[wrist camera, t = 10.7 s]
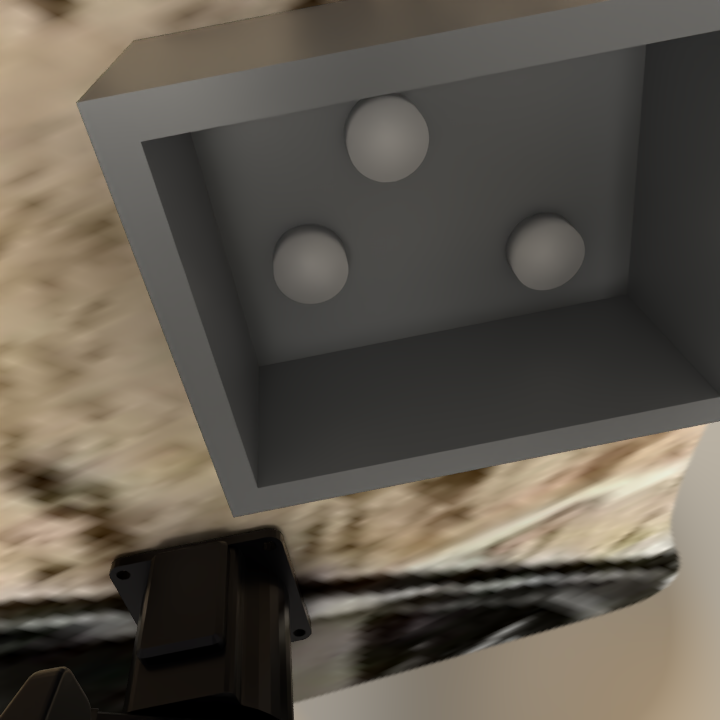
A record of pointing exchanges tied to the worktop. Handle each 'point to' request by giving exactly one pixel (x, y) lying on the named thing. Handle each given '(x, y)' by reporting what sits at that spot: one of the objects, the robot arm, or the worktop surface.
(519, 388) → the tub
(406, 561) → the worktop surface
